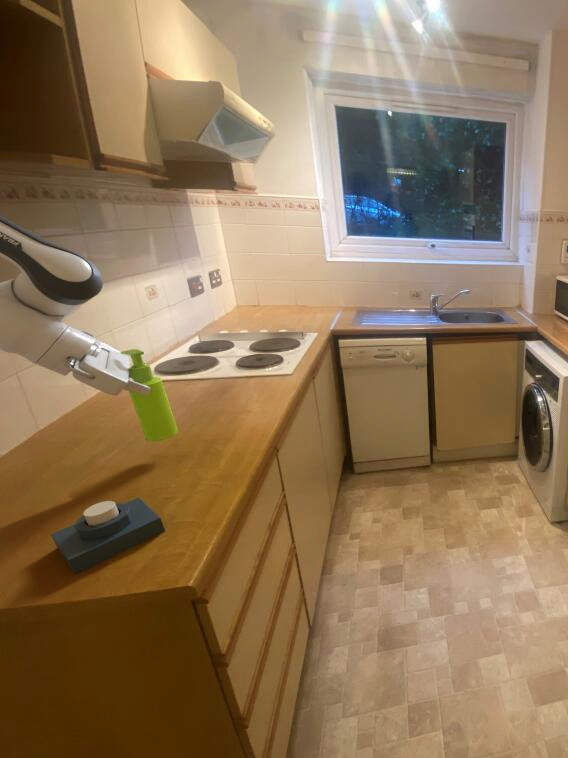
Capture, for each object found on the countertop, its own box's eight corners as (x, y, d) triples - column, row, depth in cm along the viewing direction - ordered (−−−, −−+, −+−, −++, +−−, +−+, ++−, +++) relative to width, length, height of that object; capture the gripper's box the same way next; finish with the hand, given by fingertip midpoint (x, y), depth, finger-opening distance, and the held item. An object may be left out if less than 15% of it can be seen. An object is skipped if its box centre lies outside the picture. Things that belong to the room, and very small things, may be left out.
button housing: (75, 574, 68) (63, 550, 66) (57, 548, 73) (45, 524, 71) (165, 531, 77) (156, 508, 75) (144, 510, 82) (135, 488, 80)
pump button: (92, 529, 71) (87, 519, 70) (84, 520, 73) (79, 510, 72) (122, 516, 74) (118, 506, 73) (114, 507, 76) (110, 497, 75)
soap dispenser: (167, 427, 103) (140, 345, 96) (183, 432, 100) (157, 349, 93) (138, 437, 98) (108, 352, 91) (154, 443, 95) (125, 356, 88)
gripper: (76, 352, 78) (160, 389, 88) (86, 329, 93) (157, 363, 102) (51, 381, 77) (139, 415, 87) (65, 352, 92) (138, 384, 101)
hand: (148, 386), depth 95 cm, fingers closed on soap dispenser, 6 cm apart
